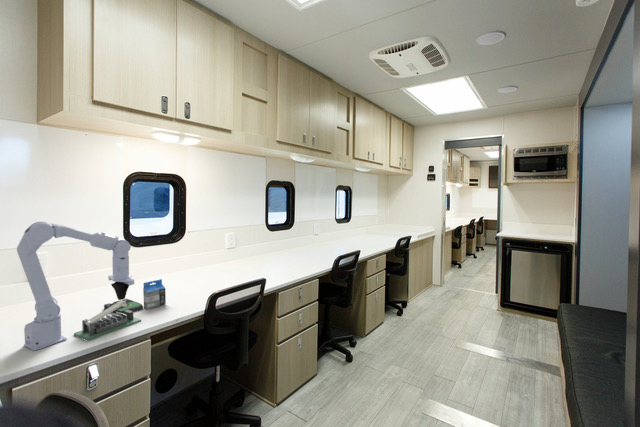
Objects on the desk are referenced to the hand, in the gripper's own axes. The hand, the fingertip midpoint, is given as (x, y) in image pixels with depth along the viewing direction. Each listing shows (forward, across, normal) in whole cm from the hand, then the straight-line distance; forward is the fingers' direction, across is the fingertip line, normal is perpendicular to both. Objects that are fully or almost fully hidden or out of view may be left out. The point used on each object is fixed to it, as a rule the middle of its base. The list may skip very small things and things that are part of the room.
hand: (121, 299), depth 125 cm
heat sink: (+10, 0, +7) cm, 12 cm away
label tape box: (+11, +6, -19) cm, 23 cm away
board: (+10, 0, +5) cm, 12 cm away
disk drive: (+11, +15, -10) cm, 21 cm away
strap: (+5, 0, +6) cm, 8 cm away
